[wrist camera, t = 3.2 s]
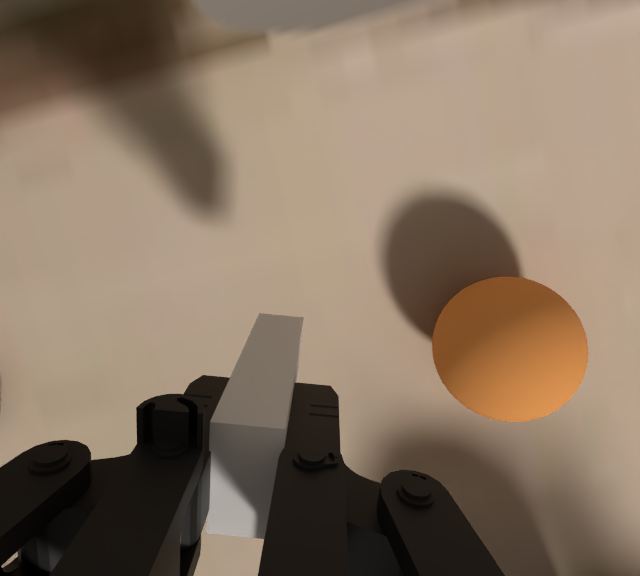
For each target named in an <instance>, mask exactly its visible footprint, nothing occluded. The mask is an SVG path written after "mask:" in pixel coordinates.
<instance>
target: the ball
mask: <svg viewBox="0 0 640 576" xmlns="http://www.w3.org/2000/svg"><path fill="white" fill-rule="evenodd" d="M432 350H433V358H434V363H435V366H436V369H437V372H438V374H439V376H440V378H441V380H442V382H443V384H444V385H445V386H446V388H447V389H448V391H449V392H450V393H451V394H452V395H453V396H454V397H455V398H456V399H457V400H458V401H459V402H460V403H462V404H463V405H464V406H465V407H467V408H468V409H470V410H472V411H474V412H475V413H477V414H480V415H482V416H484V417H487V418H491V419H494V420H499V421H506V422H520V421H529V420H534V419H537V418H540V417H543V416H546V415H548V414H550V413H552V412H554V411H555V410H557V409H558V408H560V407H561V406H562V405H564V404H565V403H566V402H567V401H568V400H569V399H570V398H571V397H572V396H573V394H574V393H575V392H576V390H577V389H578V387H579V386H580V384H581V382H582V380H583V377H584V374H585V371H586V367H587V362H588V345H587V338H586V334H585V331H584V328H583V326H582V324H581V321H580V319H579V318H578V316H577V314H576V313H575V311H574V310H573V309H572V308H571V306H570V305H569V304H568V303H567V302H566V301H565V300H564V299H563V298H562V297H561V296H560V295H558V294H557V293H556V292H554V291H553V290H551V289H550V288H548V287H546V286H544V285H542V284H540V283H537V282H535V281H532V280H528V279H525V278H519V277H505V276H503V277H493V278H489V279H485V280H481V281H478V282H476V283H473V284H471V285H469V286H467V287H466V288H464V289H463V290H461V291H460V292H458V293H457V294H456V295H455V296H454V297H453V298H452V299H451V300H450V301H449V302H448V303H447V304H446V306H445V307H444V308H443V310H442V312H441V314H440V315H439V317H438V320H437V322H436V325H435V329H434V333H433V340H432Z"/></svg>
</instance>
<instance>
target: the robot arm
mask: <svg viewBox="0 0 640 576" xmlns="http://www.w3.org/2000/svg"><path fill="white" fill-rule="evenodd" d="M303 320H304V318H303V317H293V316H282V315H272V314H261V313H259V315H258V317H257V320H256V322H255V324H254V326H253V328H252V331H251V333H250V335H249V337H248V339H247V342H246V344H245V346H244V348H243V350H242V353H241V355H240V357H239V359H238V361H237V364H236V366H235V368H234V370H233V372H232V375H231V377H230V378H227V377H217V376H206V375H203V376H201V377H200V378H198V379H196V380H195V381H193V382H192V383H190V384H189V386H188V388H187V389H186V391H185V392H184V395H183V394H166V395H160V396H155V397H153V398H150V399H148V400H146V401H144V402H143V403H141V404H140V405H139V406H138V407H137V408H136V410H137V445H136V446H135V448H134V449H133V451H132V452H131V454H129V455H126V456H120V457H115V458H106V459H98V460H91V452H90V450H89V449H88V447H87V446H86V445H84V444H82V443H80V442H78V441H69V440H59V441H51V442H47V443H44V444H41V445H37V446H35V447H33V448H31V449H29V450H27V451H25V452H23V453H21V454H20V455H18V456H17V457H15V458H14V459H12V460H11V461H9V462H8V463H6V464H5V465H3V466H2V467H0V576H193V575H194V572H195V569H196V566H197V562H198V559H199V556H200V549H201V532H202V529H203V526H204V523H205V520H206V517H207V534H218V535H229V536H239V537H250V538H261V539H264V544H263V550H262V556H261V561H260V567H259V573H258V576H505V575H504V574H503V572H502V571H501V569H500V568H499V566H498V565H497V563H496V562H495V560H494V559H493V557H492V556H491V554H490V553H489V551H488V550H487V548H486V547H485V545H484V544H483V542H482V541H481V540H480V538H479V537H478V535H477V534H476V532H475V531H474V529H473V528H472V526H471V525H470V523H469V522H468V520H467V519H466V517H465V516H464V514H463V513H462V511H461V510H460V508H459V507H458V505H457V504H456V502H455V501H454V499H453V498H452V497H451V495H450V494H449V492H448V491H447V490H446V489H445V487H444V486H443V485H442V484H441V483H440V482H439V481H437V480H435V479H434V478H432V477H430V476H429V475H426V474H423V473H420V472H417V471H409V470H400V471H395V472H391V473H390V474H388V475H387V476H386V477H384V478H383V480H382V483H378V482H375V481H372V480H369V479H366V478H364V477H362V476H359V475H358V474H356V473H355V472H353V471H352V470H350V469H349V468H348V467H347V466H346V465H345V463H344V461H343V458H342V455H341V453H340V429H339V400H338V395H337V394H336V392H335V391H334V390H333V388H332V387H331V386H326V385H316V384H305V383H298V377H299V365H300V354H301V343H302V331H303ZM16 552H18V557H17V558H15V559H14V560H13V561H12V562H11V563H10V564H8V565H7V566H5V567H4V568H2V567H1V565H2V564H4V563H5V562H6V561H7V560H8V559H9V558H10V557H11V556H13V555H14V554H15V553H16Z"/></svg>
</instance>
